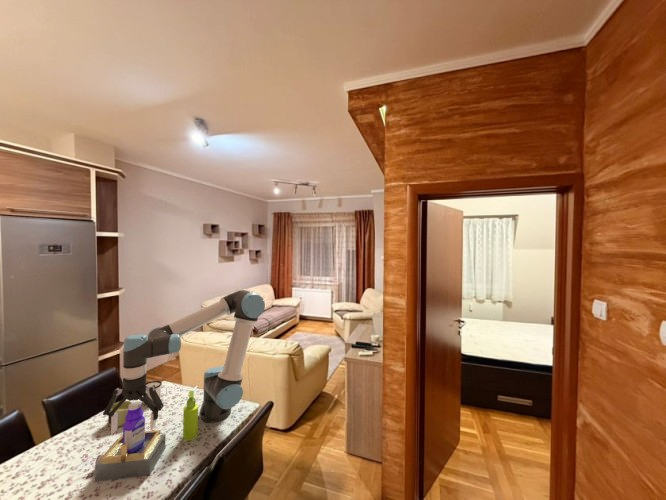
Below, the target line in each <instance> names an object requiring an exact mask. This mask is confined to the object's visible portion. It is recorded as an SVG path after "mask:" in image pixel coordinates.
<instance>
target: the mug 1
mask: <svg viewBox="0 0 666 500" xmlns="http://www.w3.org/2000/svg"><path fill="white" fill-rule="evenodd" d="M119 402H120V401H117V402H115V403H114V405H113V406H112V408H111V410H113V409H114V408H115V407H116V405H117V404H118V403H119ZM131 403H133V402H132V401H129V400H126V401H125V402H124V403H123V404H122V405H121V406H120V407H119V408H118V409H117V411H116V412H115V413H118V420H117V428H118V427H122V426H124V423H125V421H126V419H125V417H126V415H127V413H128V405H129V404H131ZM107 416H108V415H107ZM107 418H108V419H107V424H108V426H109V427H110V428H111V424H109V416H108V417H107Z"/></svg>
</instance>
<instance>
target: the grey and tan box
mask: <svg viewBox="0 0 666 500" xmlns="http://www.w3.org/2000/svg"><path fill="white" fill-rule="evenodd" d="M166 435H167V434H161V430H160V429H158V430H148V431H147V430H145V442H144V444H143V445H142V447H141V448H139V449H138V450H137V451H135V452H133V453H127V443H124V444H123V433H122V434H121V435H120V437H118V438H117V439H116V440H115V441H114V442H113V444H112V445H111V446H110V447H109V448H108V450H106V452H105V453H104V454H99V455H97V457H96V459H95V461H94V463H95V465H94V482H95V483H96V482H102V481H112V480H120V479H128V478H129V479H130V478H137V477H138V478H139V477H145V476H151V474H152V473H153V470H154V469H155V467H156V465H157V464H158V462H159V460H160V459H161V457H162V455H163V453H164V451H165V450H166V439H167V438H166V437H167V436H166Z"/></svg>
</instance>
